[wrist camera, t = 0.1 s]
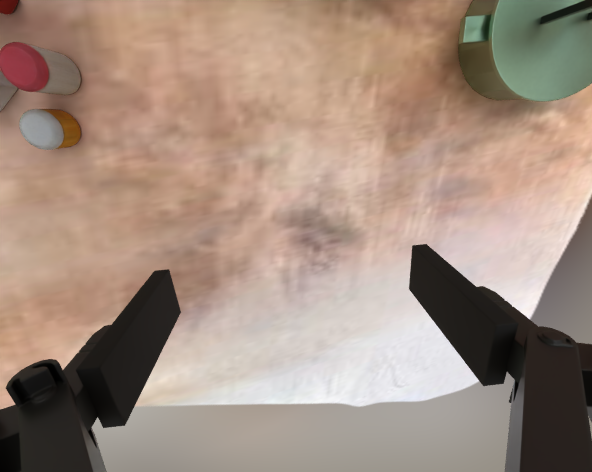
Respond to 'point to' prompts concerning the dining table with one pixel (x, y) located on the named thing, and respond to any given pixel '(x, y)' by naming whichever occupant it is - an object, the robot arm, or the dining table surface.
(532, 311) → the dining table surface
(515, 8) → the lid
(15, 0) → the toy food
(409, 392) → the dining table surface
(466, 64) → the pot
